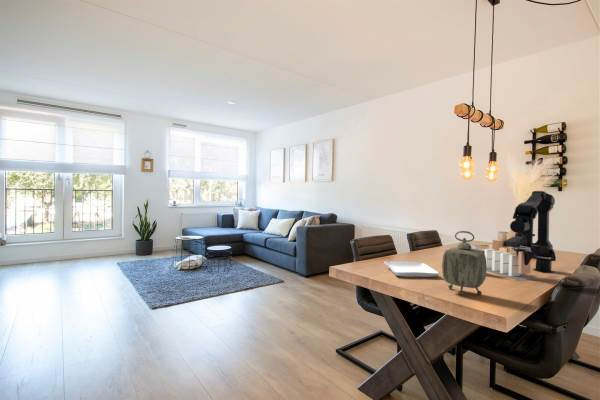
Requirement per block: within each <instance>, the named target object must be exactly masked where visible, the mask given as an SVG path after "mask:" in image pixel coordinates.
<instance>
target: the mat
mask: <svg viewBox="0 0 600 400" xmlns="http://www.w3.org/2000/svg"><path fill="white" fill-rule="evenodd" d="M486 272H489V273H493V274H496V275H500V276H502V277H505V278H508V279H511V280H515V281H533V280H538V278H537V277H533V276H529V275H525V274H520V276H509V273H500V271H493V270H492V268H488V269H487V270H486Z"/></svg>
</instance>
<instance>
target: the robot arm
mask: <svg viewBox="0 0 600 400" xmlns="http://www.w3.org/2000/svg"><path fill="white" fill-rule="evenodd" d="M555 202H556V199H555V197H554V196H553V195H552V194H550V193H548V192H546V191H544V190H534V191H532V192H531V195H530V196H529V197H528V199H527V200H526V201H525V202H521V203H519V204H517V205H516V206H515V209H514V213H513V215H512V219H513V221H512V222H511V223H510V225H509V227H510V230H511V231H512V232H514V233H515V234H514V236H513V237H510V238H508V239H506V240H504V241H503V243H502V246H503V247H508V248H511V249H512V250H513V251H514V252H515V253H516V255H518V253H519V252H524V254H525V265H528V263H529V262H530V263H531V260H532V259H534V260H535V268H532V270H534V271H537V272H542V273H555V270H552V262H557V261H556V259H557V257H556V252H555V249H554V247H553V244H552V243H551V241H550V237H549V236H550V212H551V211H552V210H553V208H554V205H555ZM536 218H537V240H536V241H535V242H533V241H534V239H533V238H534V237H535V236H536V234H535V233H534V220H535V219H536Z"/></svg>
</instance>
